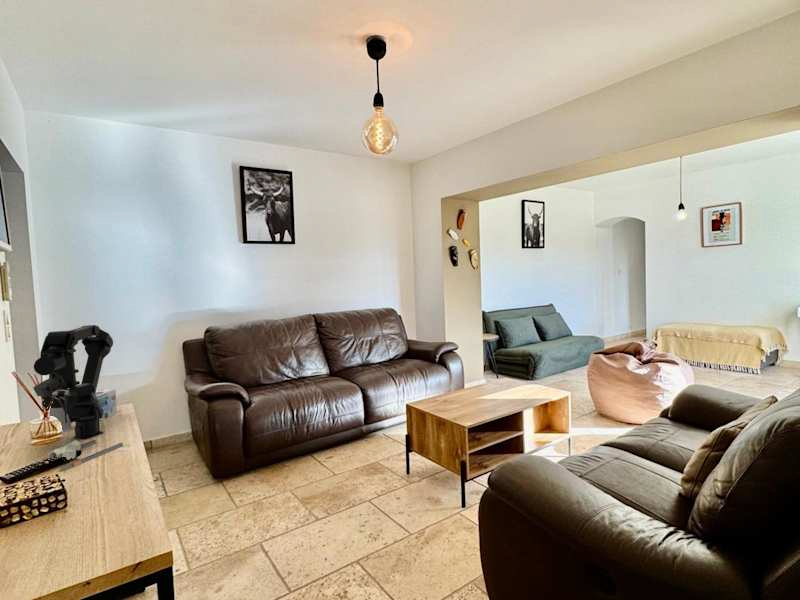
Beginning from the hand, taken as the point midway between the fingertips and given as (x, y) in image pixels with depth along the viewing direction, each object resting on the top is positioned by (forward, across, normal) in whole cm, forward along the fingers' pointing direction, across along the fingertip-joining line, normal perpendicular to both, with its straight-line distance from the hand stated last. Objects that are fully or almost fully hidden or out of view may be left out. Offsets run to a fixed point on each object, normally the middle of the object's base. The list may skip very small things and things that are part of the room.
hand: (68, 413), depth 138 cm
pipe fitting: (+10, +12, -6) cm, 16 cm away
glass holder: (+12, -19, +12) cm, 26 cm away
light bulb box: (+13, -21, +28) cm, 37 cm away
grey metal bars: (+12, +10, -5) cm, 16 cm away
